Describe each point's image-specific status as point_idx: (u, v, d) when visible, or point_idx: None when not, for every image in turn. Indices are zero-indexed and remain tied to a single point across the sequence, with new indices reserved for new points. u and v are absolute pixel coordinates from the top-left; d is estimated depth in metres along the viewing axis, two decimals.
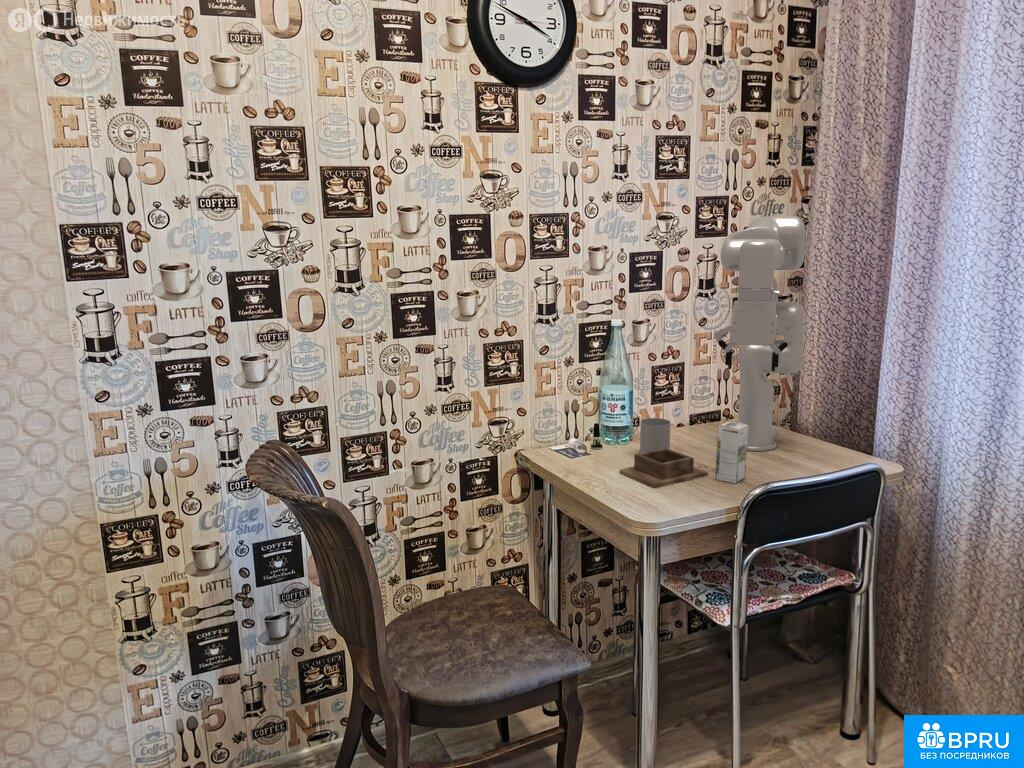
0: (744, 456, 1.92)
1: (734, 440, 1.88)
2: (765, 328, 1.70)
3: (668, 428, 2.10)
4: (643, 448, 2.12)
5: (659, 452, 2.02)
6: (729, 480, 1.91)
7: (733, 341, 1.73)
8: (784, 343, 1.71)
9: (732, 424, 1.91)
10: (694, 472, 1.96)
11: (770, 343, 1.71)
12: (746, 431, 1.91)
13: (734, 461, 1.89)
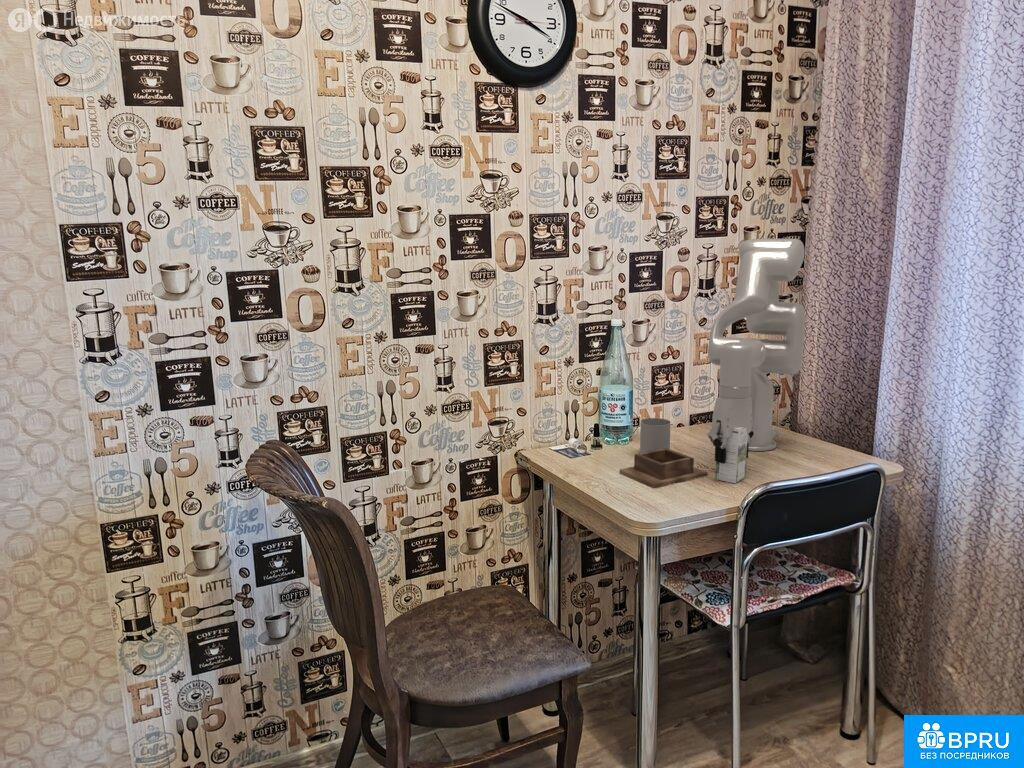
0: (744, 456, 1.92)
1: (734, 440, 1.88)
2: (747, 420, 1.90)
3: (668, 428, 2.10)
4: (643, 448, 2.12)
5: (659, 452, 2.02)
6: (729, 480, 1.91)
7: (726, 436, 1.87)
8: (751, 432, 1.94)
9: None
10: (694, 472, 1.96)
11: (749, 432, 1.91)
12: (746, 431, 1.91)
13: (734, 461, 1.89)
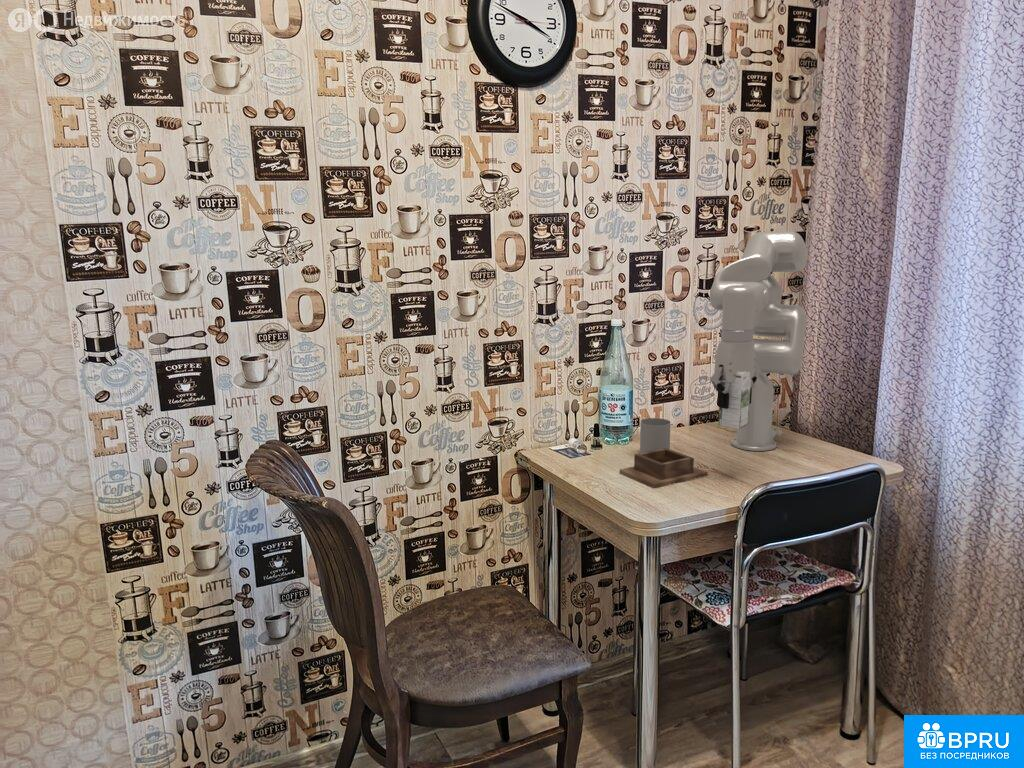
0: (747, 401, 1.90)
1: (737, 385, 1.86)
2: (750, 364, 1.87)
3: (668, 428, 2.10)
4: (642, 448, 2.12)
5: (659, 452, 2.02)
6: (732, 426, 1.89)
7: (729, 380, 1.85)
8: (754, 377, 1.91)
9: None
10: (694, 472, 1.96)
11: (752, 376, 1.89)
12: (749, 376, 1.88)
13: (737, 406, 1.87)
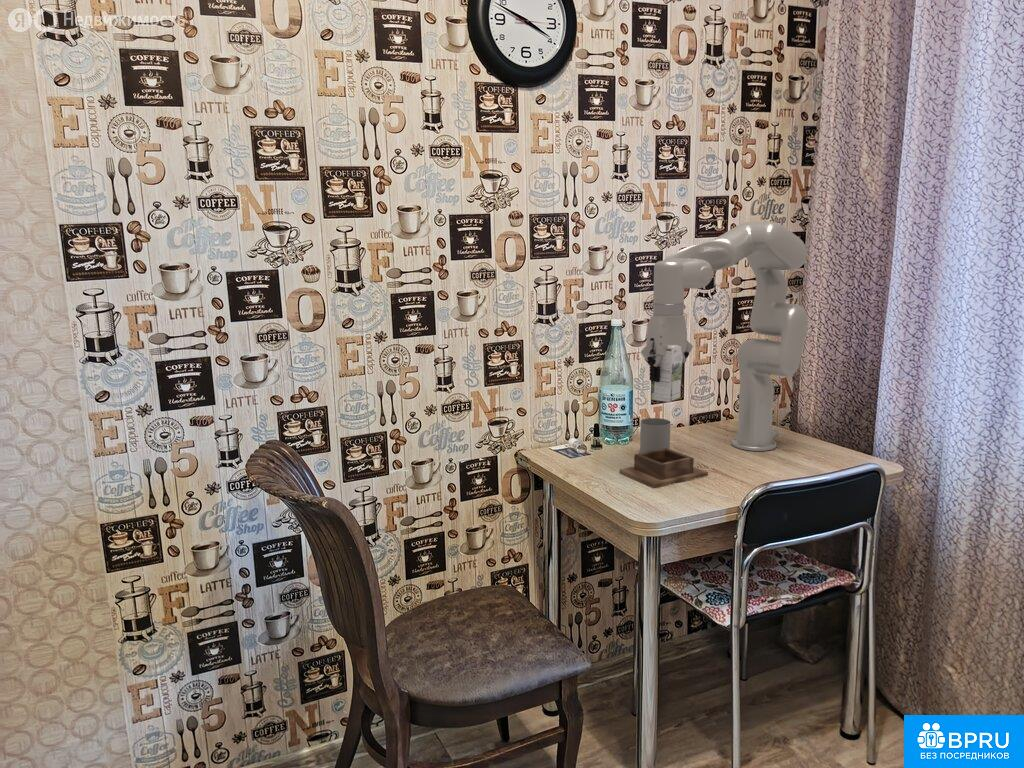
0: (679, 375, 1.92)
1: (668, 358, 1.88)
2: (681, 338, 1.90)
3: (668, 428, 2.10)
4: (643, 448, 2.12)
5: (659, 452, 2.02)
6: (664, 399, 1.91)
7: (659, 353, 1.88)
8: (687, 352, 1.94)
9: None
10: (694, 472, 1.96)
11: (684, 351, 1.92)
12: None
13: (668, 379, 1.89)
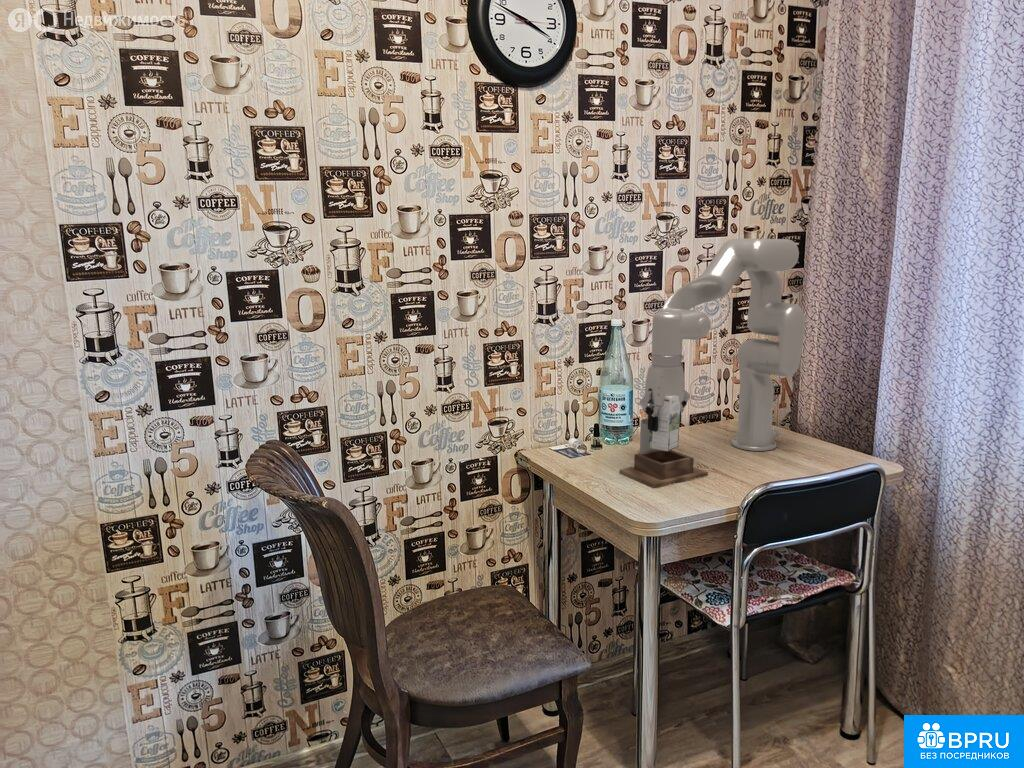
0: (677, 425, 1.95)
1: (666, 409, 1.91)
2: (679, 388, 1.93)
3: None
4: (642, 448, 2.12)
5: (659, 452, 2.02)
6: (662, 448, 1.94)
7: (657, 404, 1.90)
8: (684, 401, 1.96)
9: None
10: (694, 472, 1.96)
11: (681, 401, 1.94)
12: (678, 400, 1.93)
13: (666, 429, 1.92)
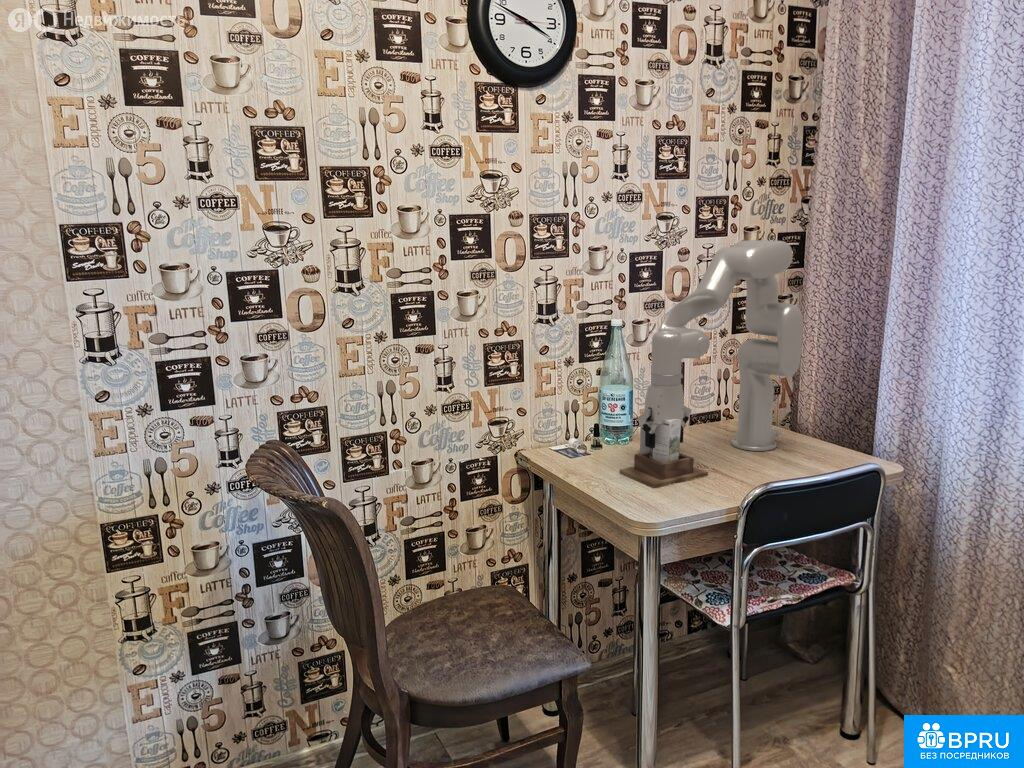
0: (677, 448, 1.96)
1: (666, 432, 1.93)
2: (679, 407, 1.94)
3: None
4: (642, 448, 2.12)
5: None
6: None
7: (657, 423, 1.91)
8: (686, 417, 1.98)
9: None
10: (694, 472, 1.96)
11: (681, 419, 1.95)
12: (679, 424, 1.95)
13: (666, 452, 1.93)
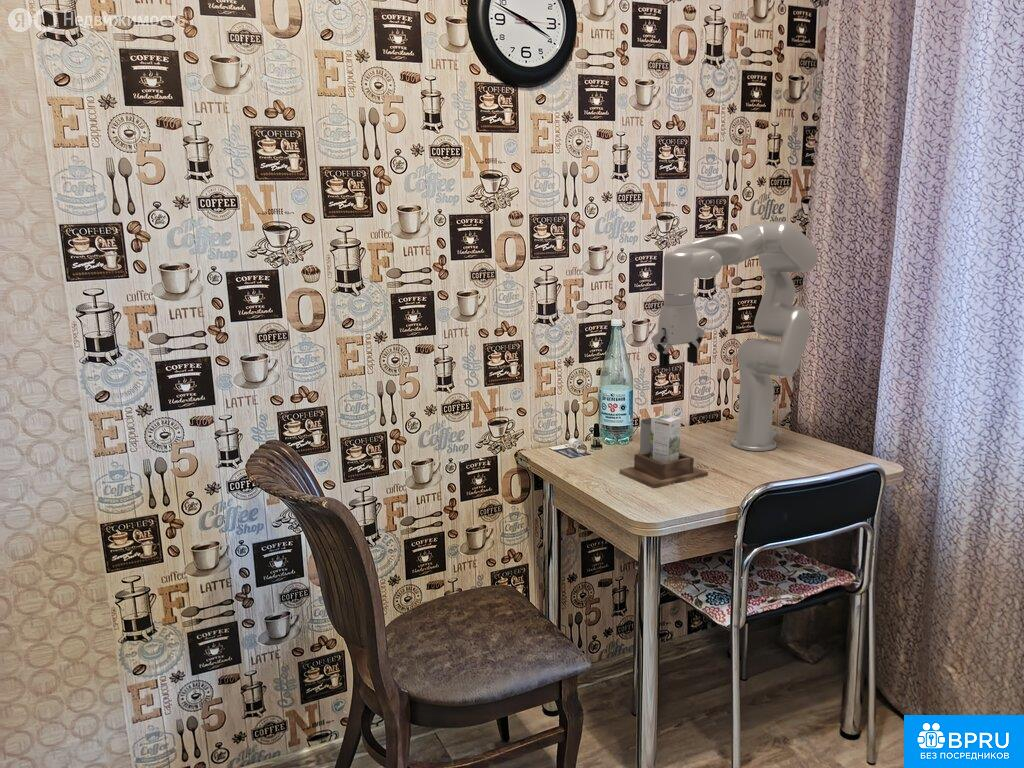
0: (677, 448, 1.96)
1: (665, 432, 1.93)
2: (692, 327, 1.94)
3: None
4: (642, 448, 2.12)
5: None
6: None
7: (671, 343, 1.92)
8: (700, 338, 1.99)
9: (665, 417, 1.95)
10: (694, 472, 1.96)
11: (694, 339, 1.96)
12: (678, 424, 1.95)
13: (666, 452, 1.93)
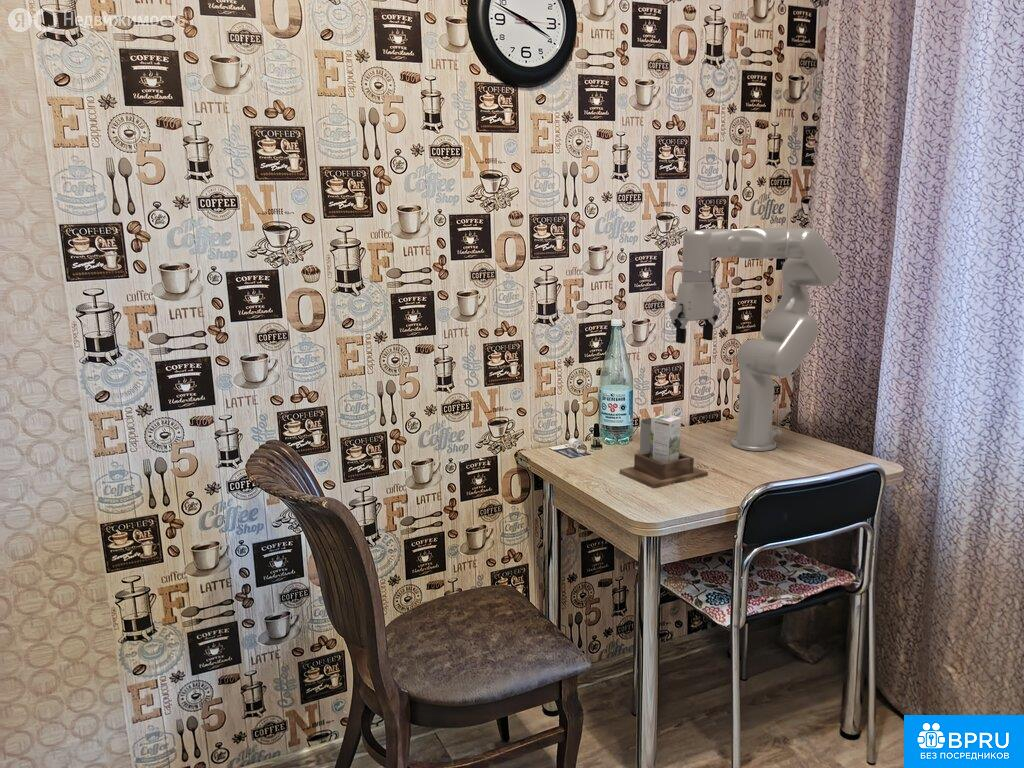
0: (677, 448, 1.96)
1: (665, 432, 1.93)
2: (709, 304, 2.01)
3: None
4: (642, 448, 2.12)
5: None
6: None
7: (688, 318, 1.99)
8: (716, 316, 2.05)
9: (665, 417, 1.95)
10: (694, 472, 1.96)
11: (711, 317, 2.03)
12: (678, 424, 1.95)
13: (666, 452, 1.93)
